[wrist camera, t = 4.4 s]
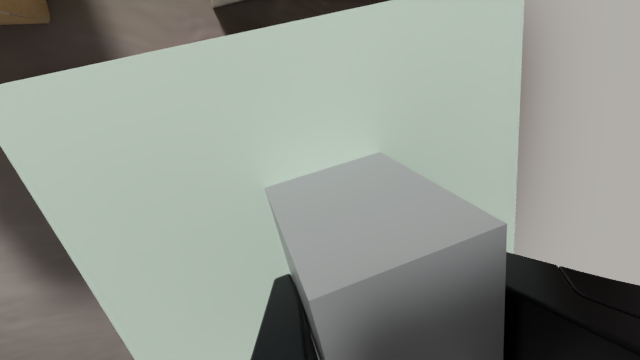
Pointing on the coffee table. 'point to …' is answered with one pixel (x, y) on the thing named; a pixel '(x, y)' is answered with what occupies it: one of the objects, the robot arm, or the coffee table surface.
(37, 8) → the wooden ramp
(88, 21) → the coffee table surface
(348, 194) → the lid
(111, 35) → the coffee table surface
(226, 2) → the storage box
